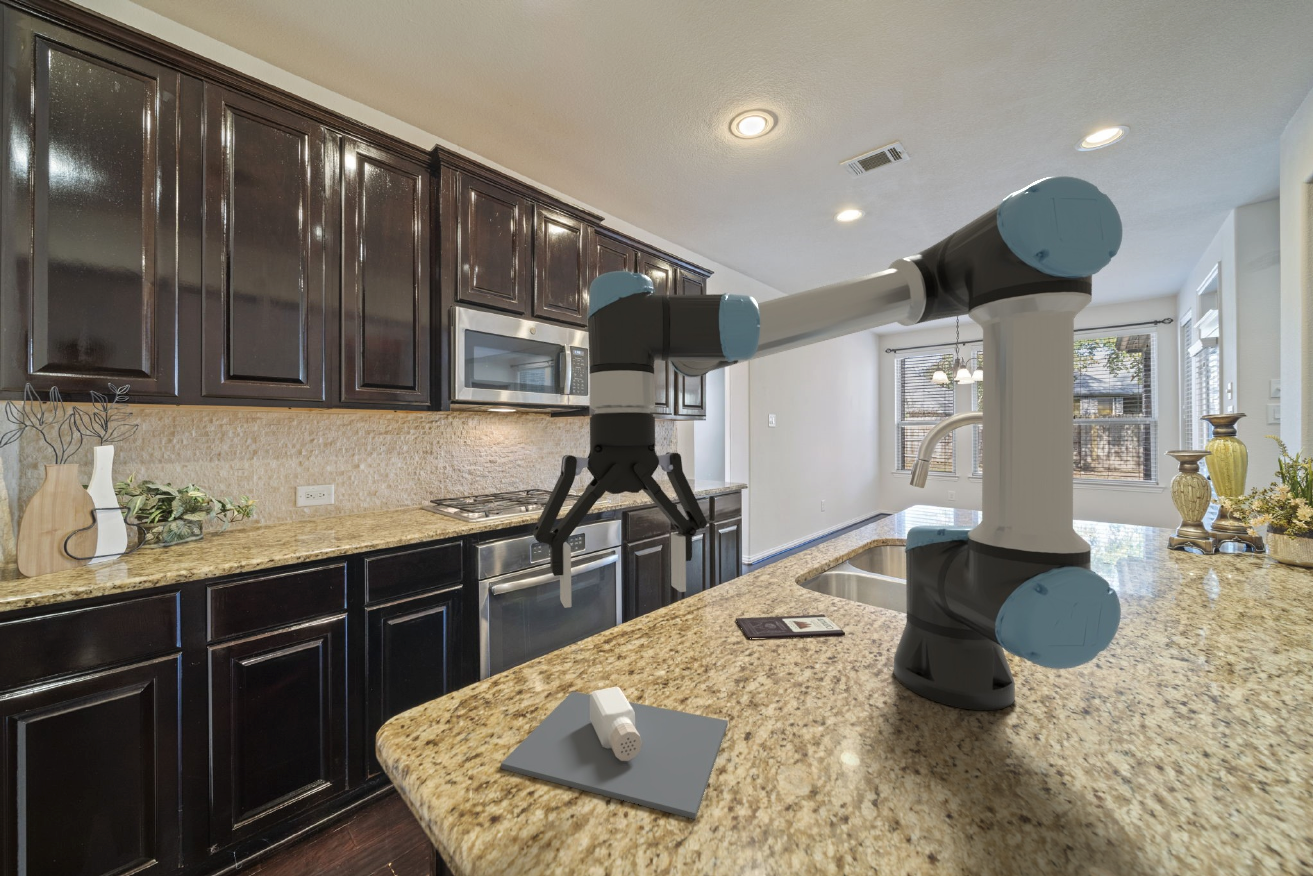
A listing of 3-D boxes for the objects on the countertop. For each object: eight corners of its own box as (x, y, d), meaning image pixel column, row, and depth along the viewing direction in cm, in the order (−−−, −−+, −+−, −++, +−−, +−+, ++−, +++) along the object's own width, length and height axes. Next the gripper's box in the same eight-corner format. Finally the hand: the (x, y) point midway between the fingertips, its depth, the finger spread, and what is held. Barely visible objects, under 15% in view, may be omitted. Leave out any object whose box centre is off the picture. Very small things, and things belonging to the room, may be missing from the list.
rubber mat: (727, 725, 62) (727, 720, 62) (695, 819, 46) (695, 813, 46) (572, 695, 69) (572, 691, 69) (500, 768, 54) (500, 763, 54)
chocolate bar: (735, 618, 96) (823, 614, 98) (735, 623, 96) (823, 619, 98) (748, 637, 87) (845, 632, 89) (748, 642, 87) (845, 637, 89)
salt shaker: (588, 690, 61) (610, 732, 53) (619, 683, 63) (645, 724, 54) (589, 721, 61) (610, 769, 53) (619, 714, 63) (645, 760, 54)
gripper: (704, 414, 64) (706, 575, 65) (507, 413, 56) (509, 599, 56) (733, 411, 57) (735, 591, 57) (512, 409, 49) (515, 622, 49)
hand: (624, 596), depth 57 cm, fingers open, 13 cm apart
